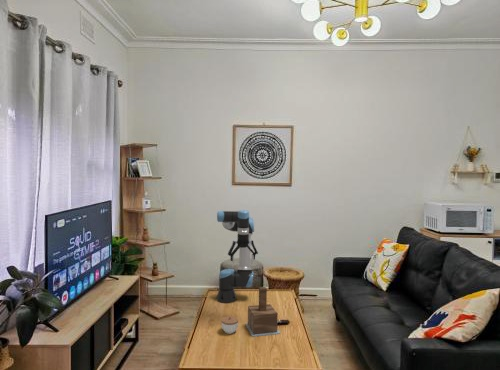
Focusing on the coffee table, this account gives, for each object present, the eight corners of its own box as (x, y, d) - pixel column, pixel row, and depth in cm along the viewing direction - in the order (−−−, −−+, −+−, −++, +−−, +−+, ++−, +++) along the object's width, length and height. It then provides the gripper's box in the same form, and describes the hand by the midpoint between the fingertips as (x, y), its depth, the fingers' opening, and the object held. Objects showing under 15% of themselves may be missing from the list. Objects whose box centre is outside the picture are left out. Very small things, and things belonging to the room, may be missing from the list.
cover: (247, 324, 234) (248, 285, 233) (269, 321, 238) (270, 283, 237) (253, 334, 220) (254, 292, 218) (277, 332, 223) (278, 291, 222)
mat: (245, 324, 235) (245, 323, 235) (271, 321, 240) (271, 320, 240) (252, 336, 218) (252, 335, 218) (280, 333, 222) (280, 332, 222)
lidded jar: (229, 326, 232) (229, 312, 232) (241, 331, 225) (241, 316, 225) (217, 331, 224) (217, 317, 224) (230, 337, 217) (230, 322, 217)
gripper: (226, 235, 231) (225, 267, 233) (262, 234, 238) (262, 265, 240) (223, 233, 239) (223, 264, 240) (259, 231, 245) (258, 262, 247)
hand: (242, 264), depth 240 cm, fingers open, 13 cm apart
